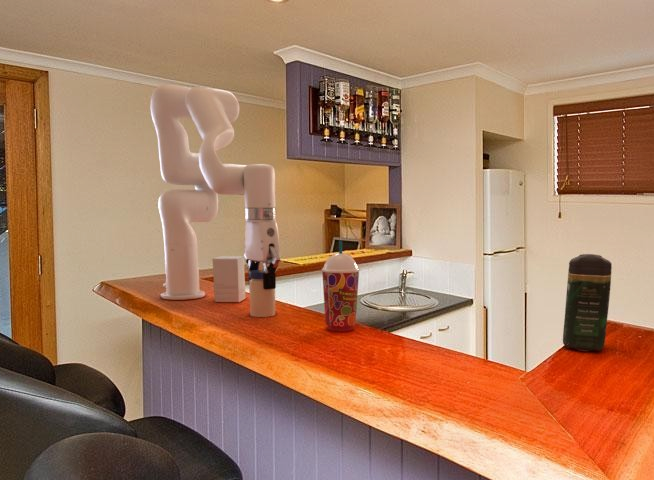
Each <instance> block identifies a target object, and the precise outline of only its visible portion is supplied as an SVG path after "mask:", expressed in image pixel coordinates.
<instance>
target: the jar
mask: <svg viewBox="0 0 654 480" xmlns="http://www.w3.org/2000/svg"><path fill="white" fill-rule="evenodd" d="M248 289H249V315H250V316H251V317H254V318H270V317H274V316H276V313H277V312H276V288H275V289H267V290H265V289H264V288H263V279H250V280H249V279H248Z"/></svg>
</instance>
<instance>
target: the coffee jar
mask: <svg viewBox="0 0 654 480" xmlns="http://www.w3.org/2000/svg"><path fill="white" fill-rule="evenodd" d="M612 264H613V263H612V262H611V261H610V260H608V259H607V258H605V257H603V256H602V255H600V254H594V253H583V254H579V255H578V256H576V257H573V258H571V259H570V260H569V262H568V269H567V271H568V273H567V283H566V296H565V309H564V310H565V311H564V319H563V320H564V321H563V323H564V324H563V329H562V330H563V332H562V343H563V346H564V347H566V348H567V349H574V350H577V351H579V352H590V351H597V352H599V351H602V350H603V349H604V348H605V344H606V336H607V325H608V315H609V309H610V308H609V306H610V296H611V287H612V286H611V284H612V283H611V282H612V269H613V267H612ZM568 343H569V344H568ZM567 344H568V345H567Z"/></svg>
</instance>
